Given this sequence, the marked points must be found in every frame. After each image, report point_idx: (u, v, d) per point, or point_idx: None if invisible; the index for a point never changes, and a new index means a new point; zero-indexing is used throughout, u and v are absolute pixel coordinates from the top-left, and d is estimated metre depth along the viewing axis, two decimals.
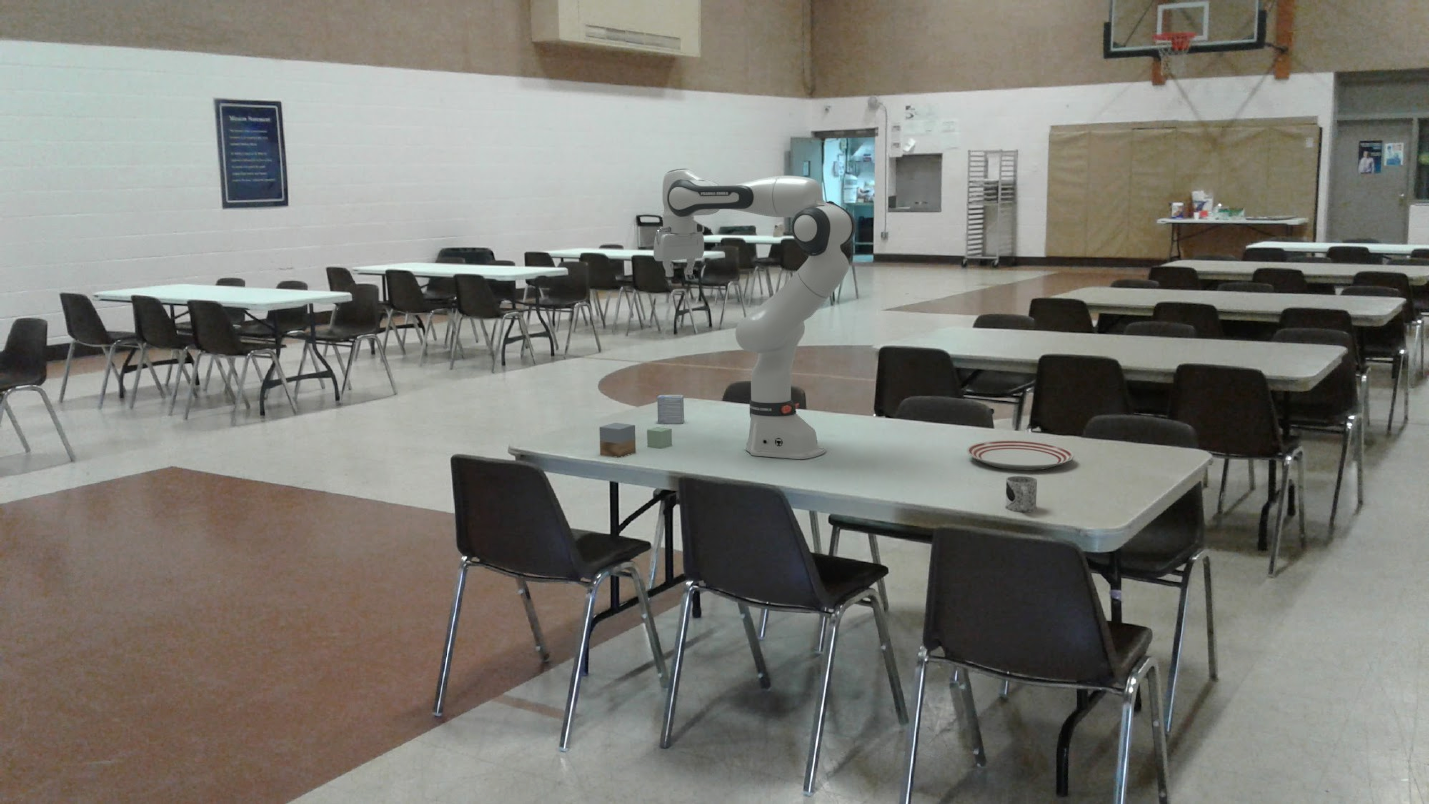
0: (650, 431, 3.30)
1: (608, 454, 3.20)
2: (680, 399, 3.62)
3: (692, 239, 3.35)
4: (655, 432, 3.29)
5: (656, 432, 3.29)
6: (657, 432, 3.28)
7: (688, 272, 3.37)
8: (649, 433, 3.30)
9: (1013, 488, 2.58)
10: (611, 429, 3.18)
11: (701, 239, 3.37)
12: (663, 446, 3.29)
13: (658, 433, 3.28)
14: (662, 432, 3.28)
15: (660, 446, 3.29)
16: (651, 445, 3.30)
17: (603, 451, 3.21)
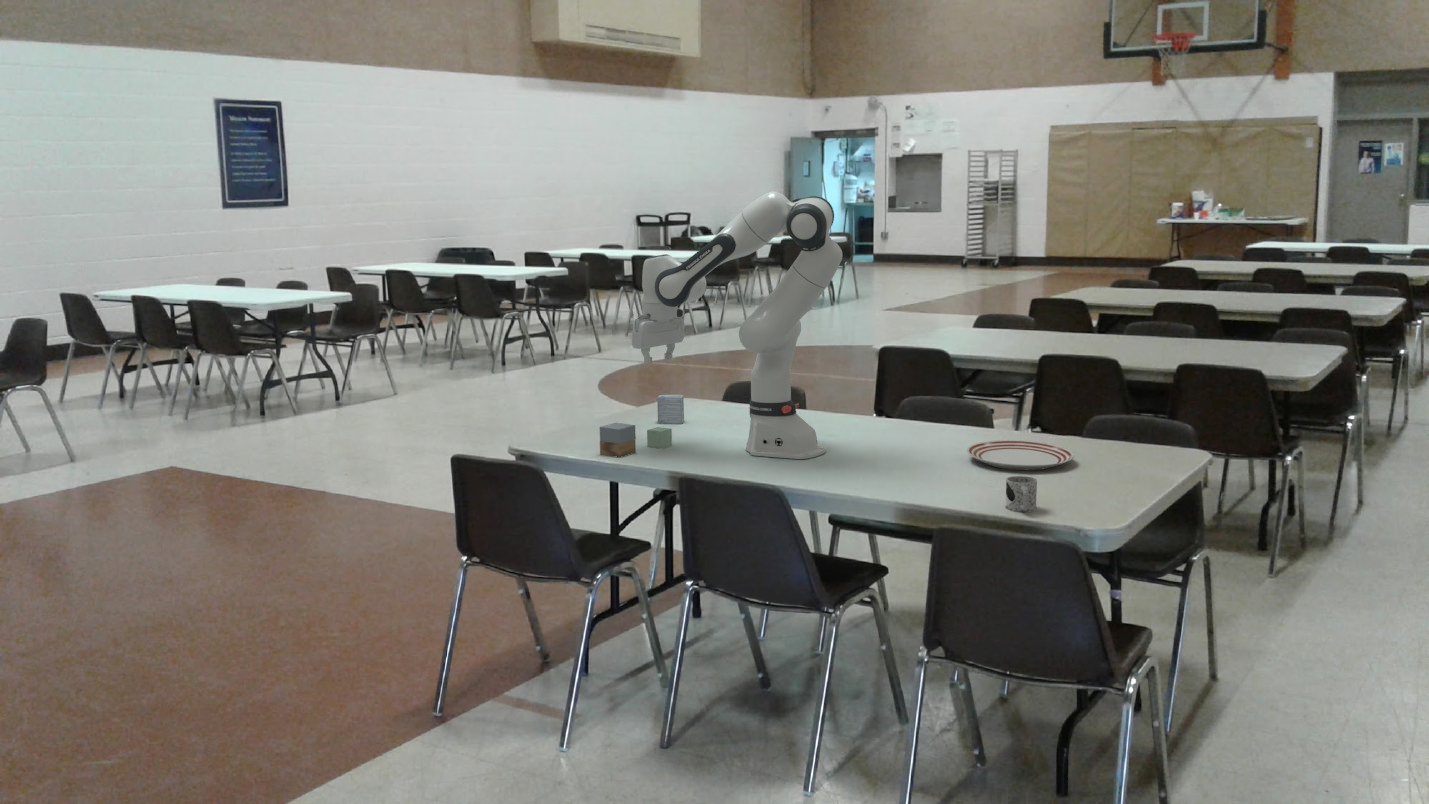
0: (650, 431, 3.30)
1: (608, 454, 3.20)
2: (680, 399, 3.62)
3: (672, 324, 3.29)
4: (655, 432, 3.29)
5: (656, 432, 3.29)
6: (657, 432, 3.28)
7: (668, 357, 3.31)
8: (649, 433, 3.30)
9: (1013, 488, 2.58)
10: (611, 429, 3.18)
11: (681, 323, 3.32)
12: (663, 446, 3.29)
13: (658, 433, 3.28)
14: (662, 432, 3.28)
15: (660, 446, 3.29)
16: (651, 445, 3.30)
17: (603, 451, 3.21)
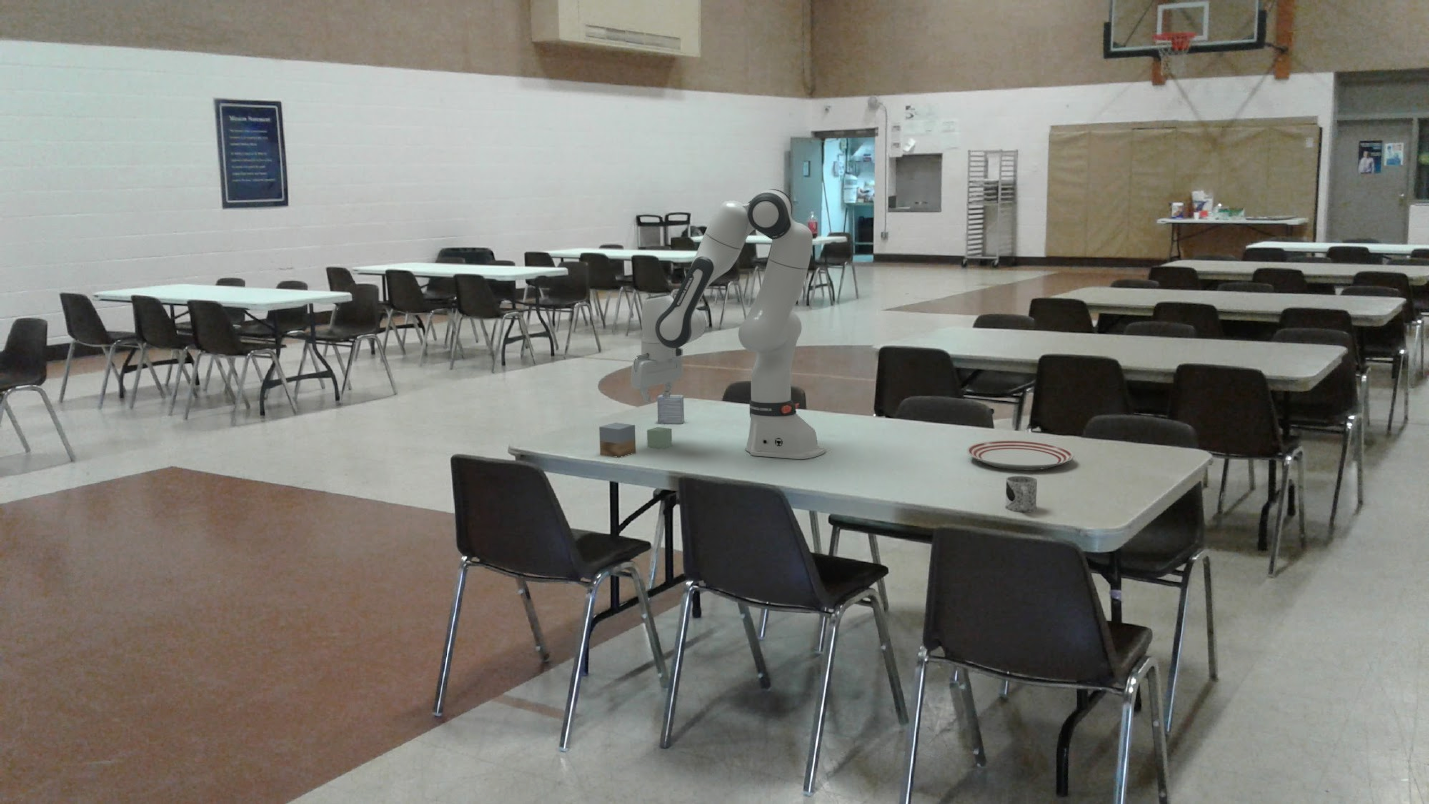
0: (650, 431, 3.30)
1: (608, 454, 3.20)
2: (680, 399, 3.62)
3: (670, 363, 3.30)
4: (655, 432, 3.29)
5: (656, 432, 3.29)
6: (657, 432, 3.28)
7: (666, 395, 3.33)
8: (649, 433, 3.30)
9: (1013, 488, 2.58)
10: (611, 429, 3.18)
11: (680, 362, 3.33)
12: (663, 446, 3.29)
13: (658, 433, 3.28)
14: (662, 432, 3.28)
15: (660, 446, 3.29)
16: (651, 445, 3.30)
17: (603, 451, 3.21)
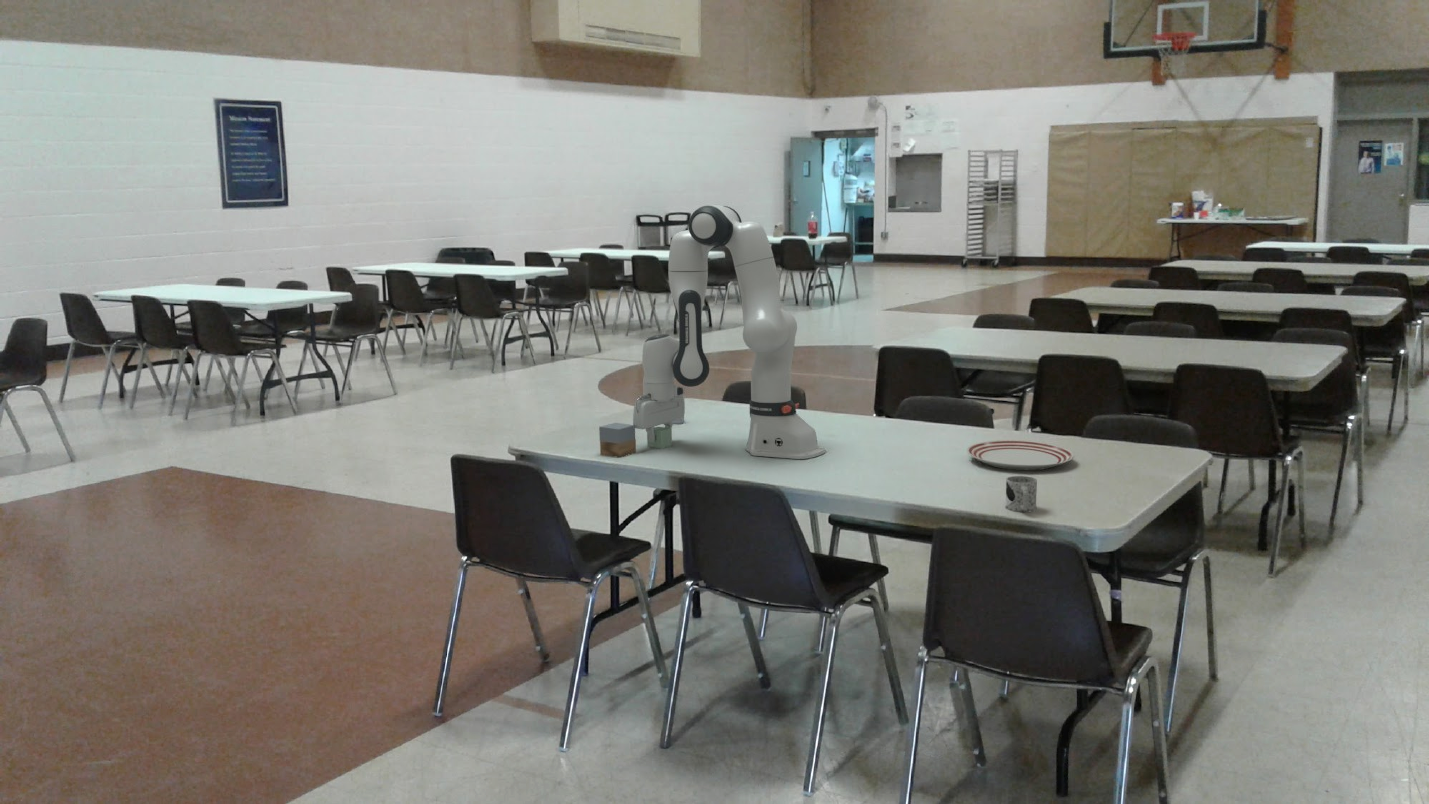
0: None
1: (608, 454, 3.20)
2: None
3: (672, 402, 3.32)
4: (655, 432, 3.29)
5: (656, 432, 3.29)
6: (657, 432, 3.28)
7: None
8: None
9: (1013, 488, 2.58)
10: (611, 429, 3.18)
11: (682, 401, 3.35)
12: (663, 446, 3.29)
13: (658, 433, 3.28)
14: (662, 432, 3.28)
15: (660, 446, 3.29)
16: (651, 445, 3.30)
17: (603, 451, 3.21)
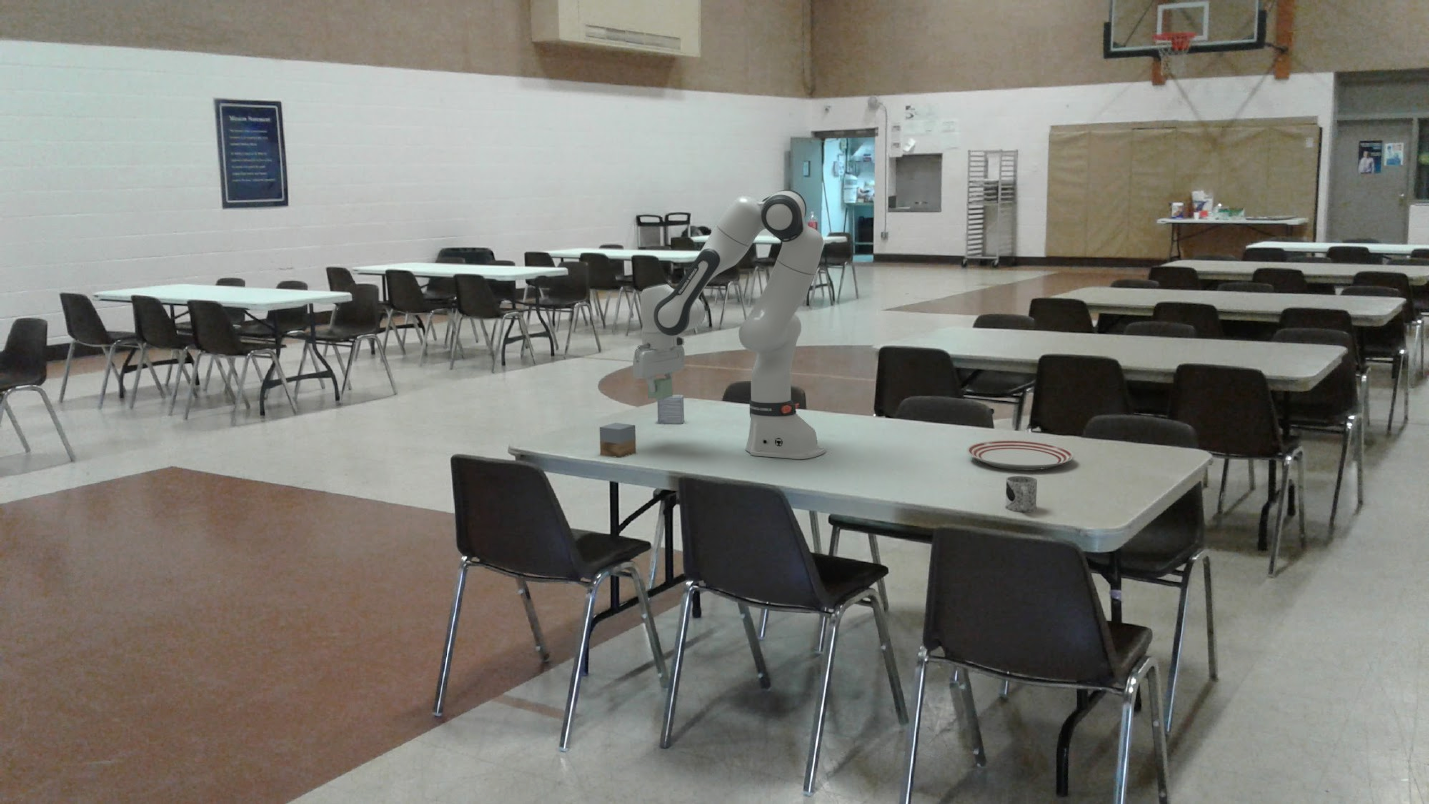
0: None
1: (608, 454, 3.20)
2: (680, 399, 3.62)
3: (672, 353, 3.30)
4: (655, 382, 3.26)
5: (656, 382, 3.26)
6: (657, 382, 3.26)
7: None
8: None
9: (1013, 488, 2.58)
10: (611, 429, 3.18)
11: (682, 352, 3.33)
12: (664, 396, 3.27)
13: (658, 383, 3.26)
14: (662, 382, 3.26)
15: (661, 396, 3.26)
16: (652, 396, 3.28)
17: (603, 451, 3.21)
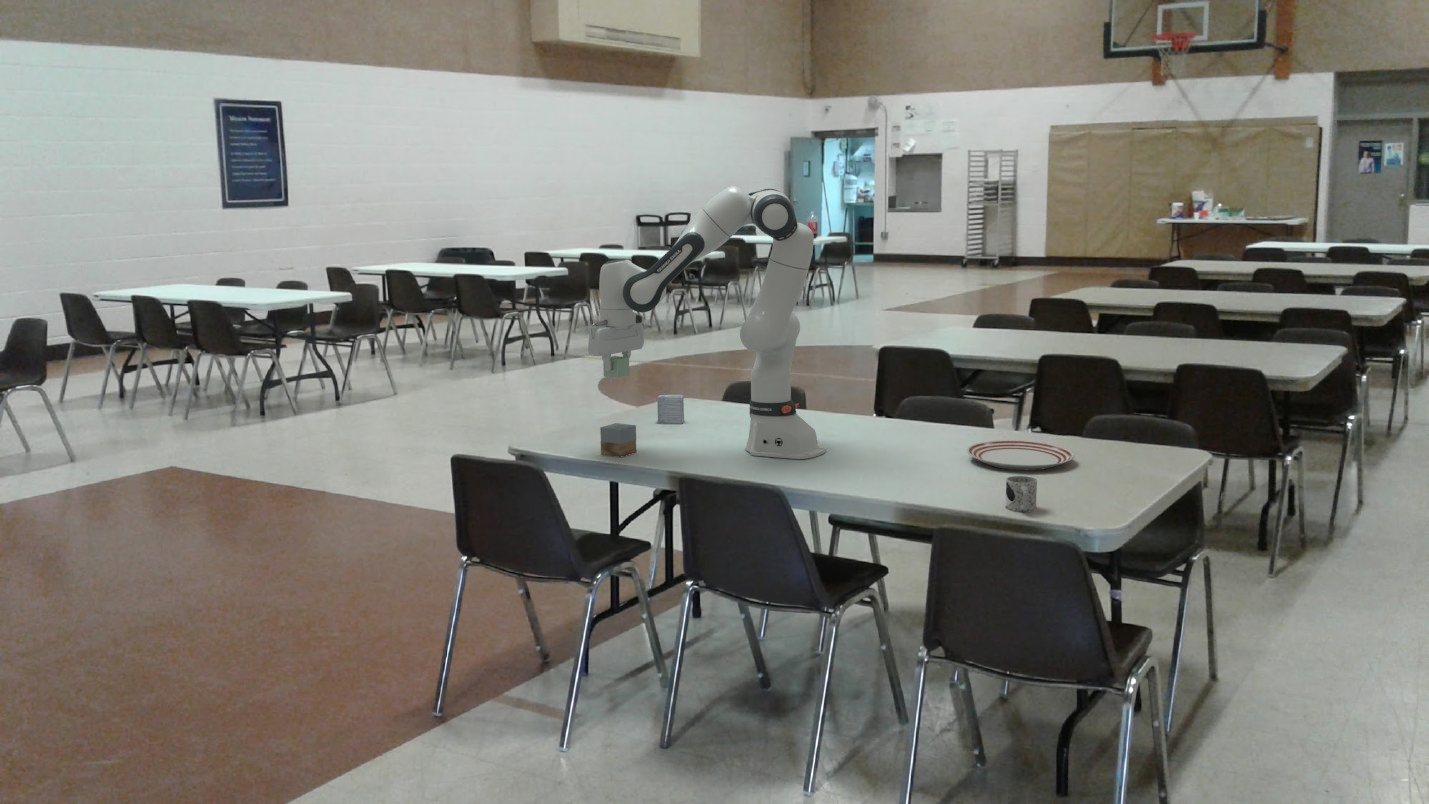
0: None
1: (609, 454, 3.20)
2: (680, 399, 3.62)
3: (631, 331, 3.20)
4: (611, 360, 3.16)
5: (612, 360, 3.16)
6: (613, 360, 3.16)
7: None
8: None
9: (1013, 488, 2.58)
10: (612, 429, 3.18)
11: (641, 330, 3.23)
12: (620, 375, 3.17)
13: (614, 361, 3.16)
14: (619, 360, 3.16)
15: (616, 375, 3.16)
16: (607, 374, 3.18)
17: (604, 451, 3.21)
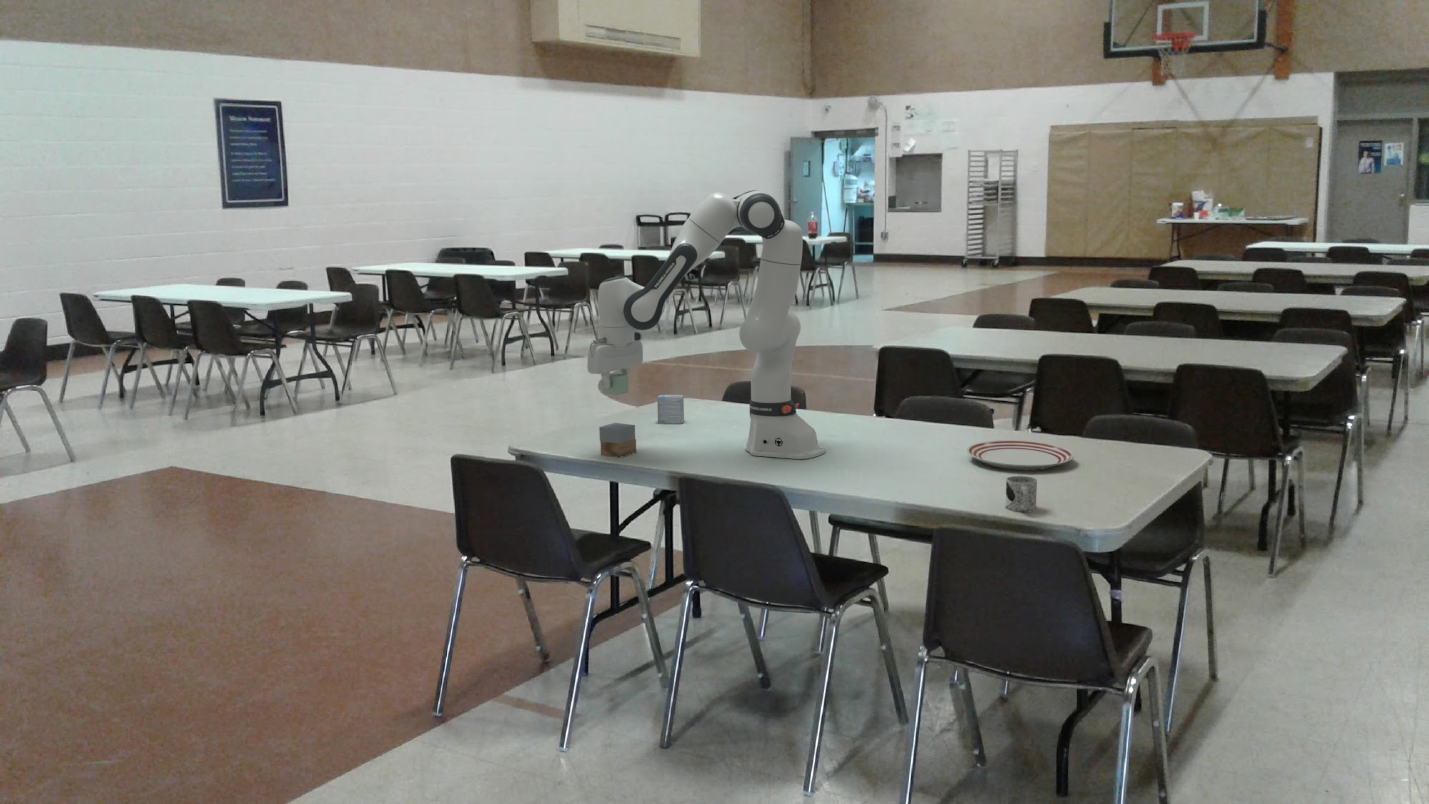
0: None
1: (609, 454, 3.20)
2: (680, 399, 3.62)
3: (630, 348, 3.20)
4: (610, 378, 3.17)
5: (611, 378, 3.16)
6: (612, 377, 3.16)
7: None
8: None
9: (1013, 488, 2.58)
10: (611, 429, 3.18)
11: (639, 347, 3.23)
12: (619, 392, 3.17)
13: (613, 379, 3.16)
14: (618, 378, 3.16)
15: (615, 392, 3.16)
16: (606, 391, 3.18)
17: (604, 451, 3.21)
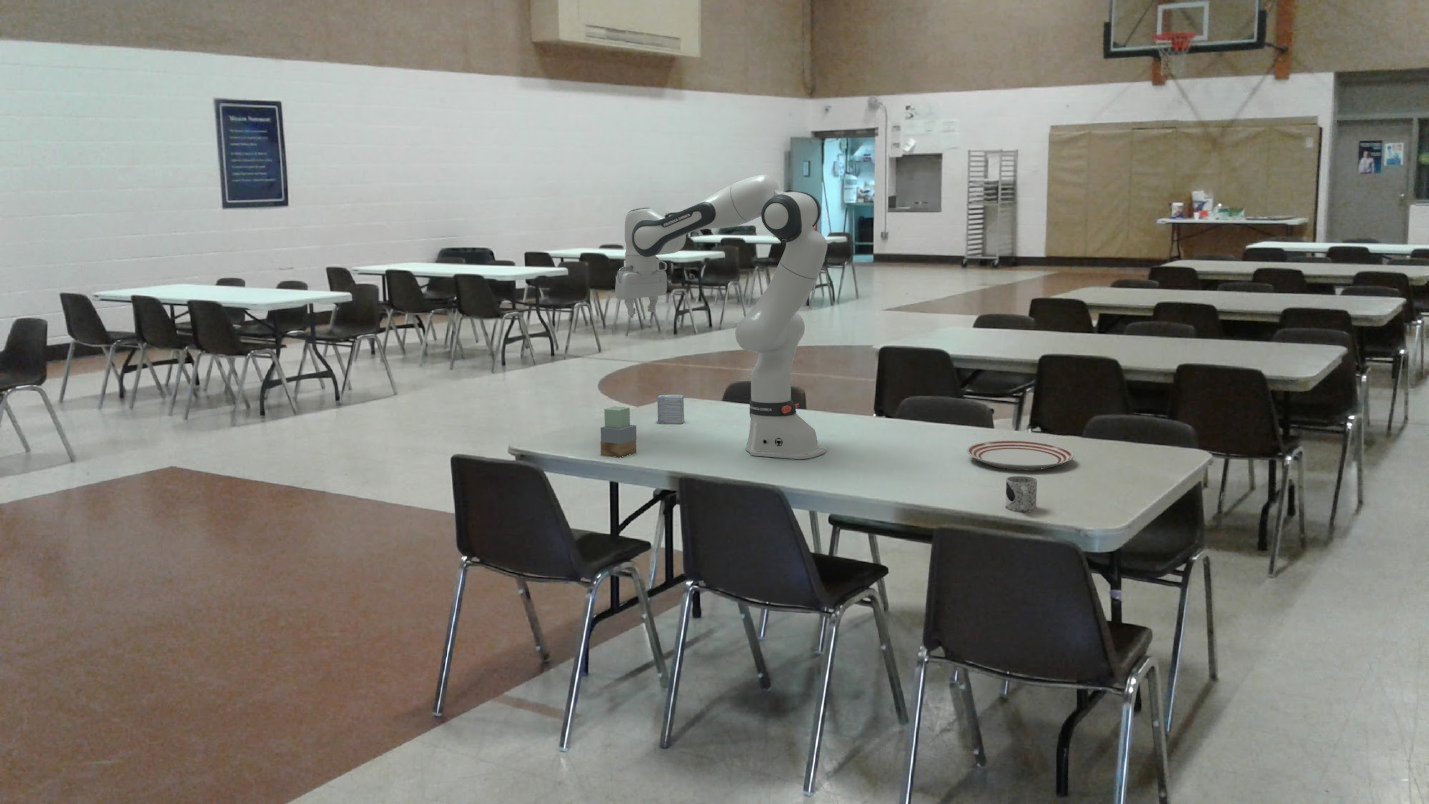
0: (608, 410, 3.19)
1: (609, 454, 3.20)
2: (680, 399, 3.62)
3: (655, 277, 3.37)
4: (613, 411, 3.18)
5: (614, 411, 3.18)
6: (615, 411, 3.18)
7: (651, 309, 3.39)
8: (606, 412, 3.19)
9: (1013, 488, 2.58)
10: (612, 429, 3.18)
11: (664, 276, 3.40)
12: (621, 425, 3.19)
13: (616, 412, 3.18)
14: (620, 411, 3.18)
15: (618, 425, 3.18)
16: (609, 425, 3.20)
17: (604, 451, 3.21)
